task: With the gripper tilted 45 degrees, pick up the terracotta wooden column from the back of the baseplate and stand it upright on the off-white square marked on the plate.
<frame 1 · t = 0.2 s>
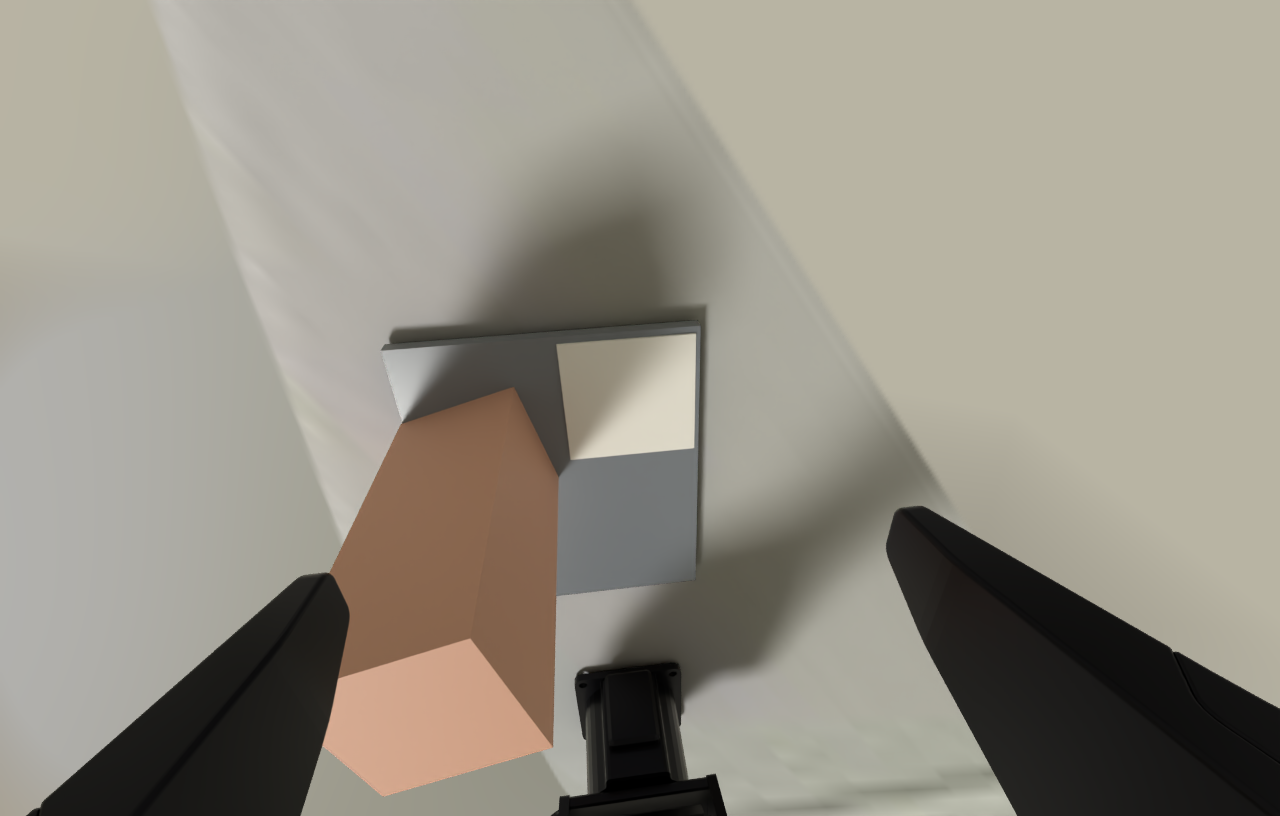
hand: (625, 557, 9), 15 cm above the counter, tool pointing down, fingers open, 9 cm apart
baseplate: (563, 476, 26), on the counter
column: (483, 451, 24), point 1 cm above the counter, touching baseplate
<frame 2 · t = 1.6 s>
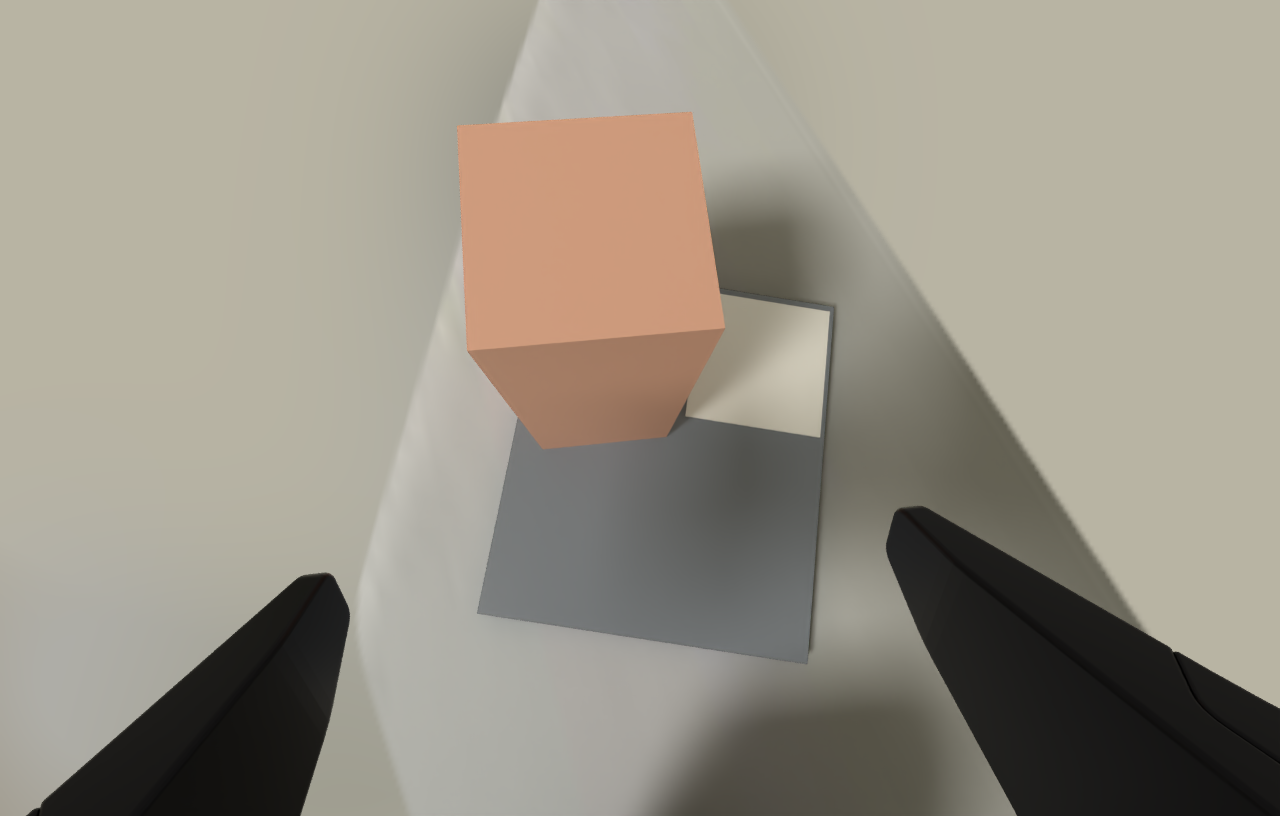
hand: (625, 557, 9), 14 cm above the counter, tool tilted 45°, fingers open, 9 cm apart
baseplate: (668, 450, 23), on the counter
column: (599, 383, 23), point 1 cm above the counter, touching baseplate
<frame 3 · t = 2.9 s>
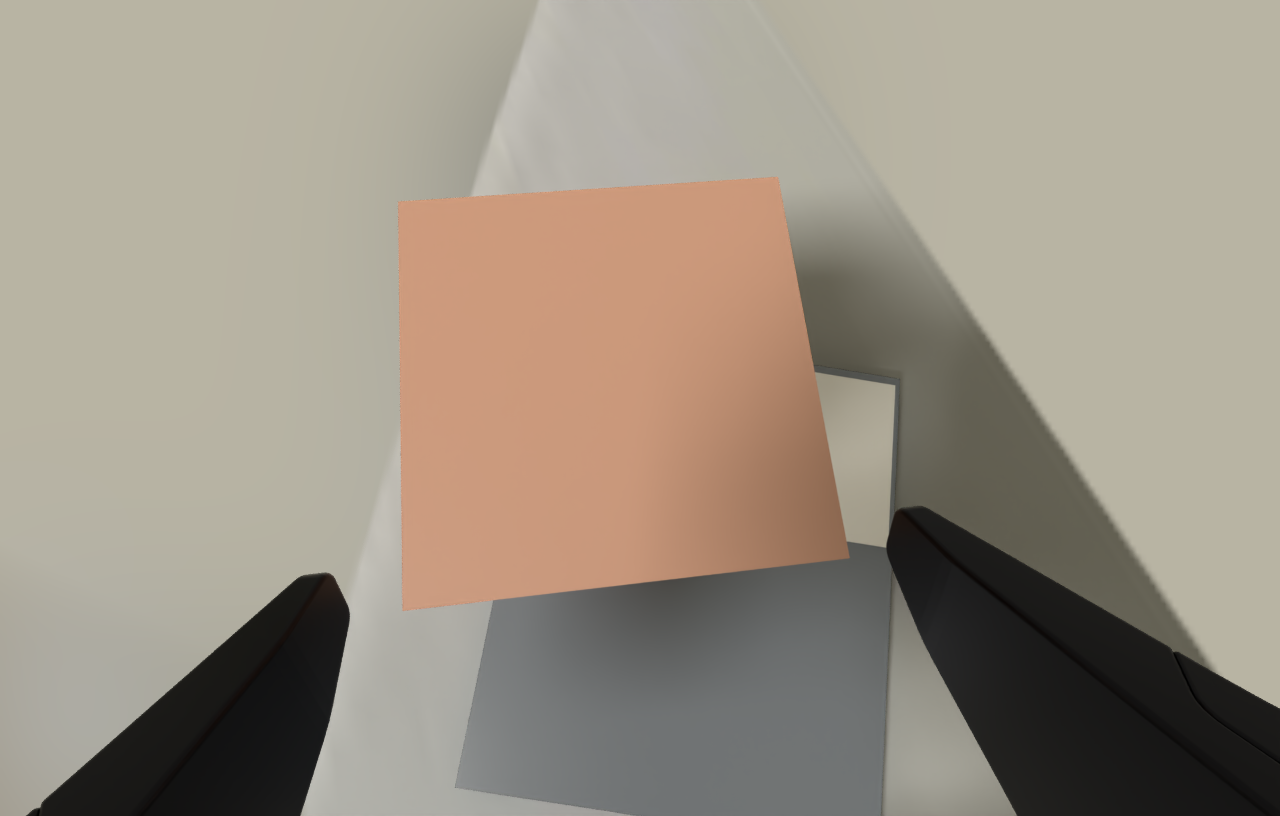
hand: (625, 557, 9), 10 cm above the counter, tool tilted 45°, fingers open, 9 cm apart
baseplate: (697, 561, 19), on the counter
column: (611, 478, 18), point 1 cm above the counter, touching baseplate
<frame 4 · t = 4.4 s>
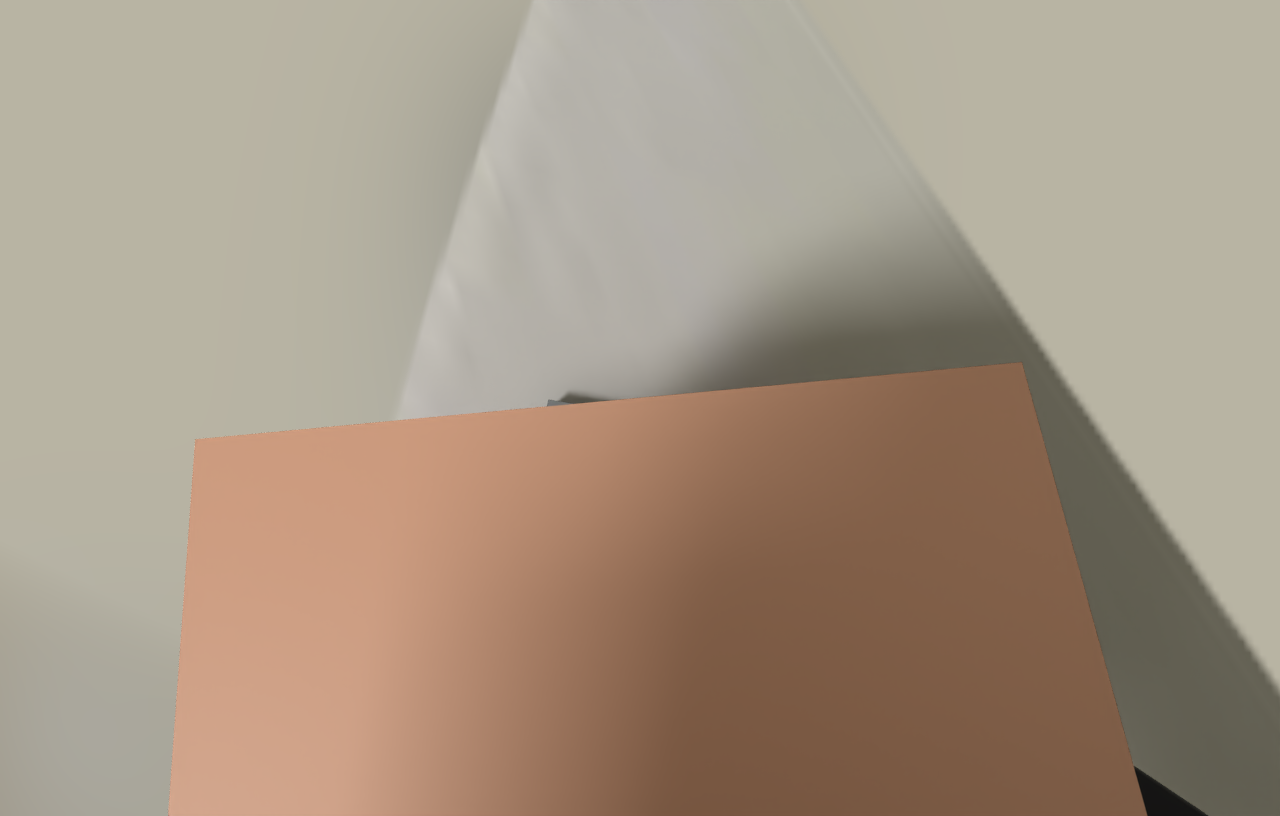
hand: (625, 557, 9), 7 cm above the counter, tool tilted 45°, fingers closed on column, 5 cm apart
column: (625, 606, 14), point 1 cm above the counter, touching baseplate, gripper
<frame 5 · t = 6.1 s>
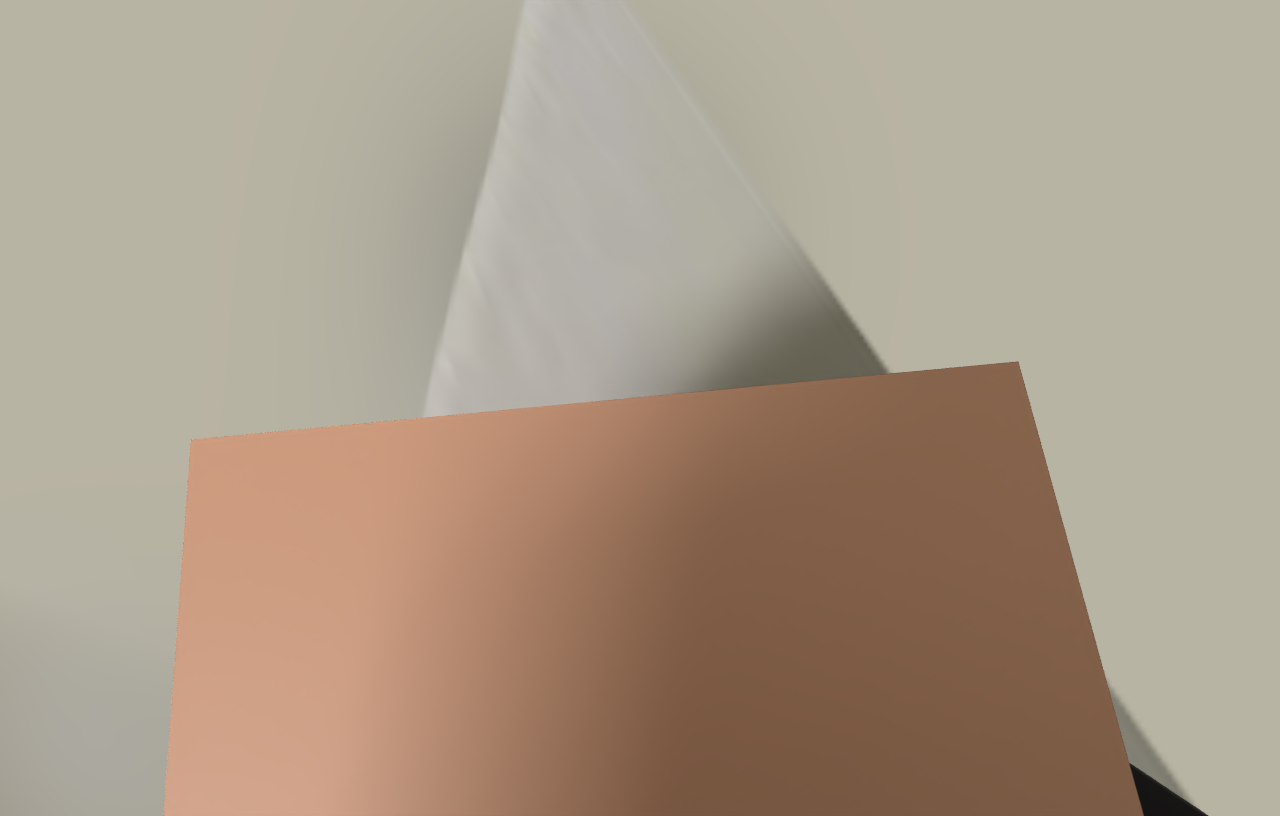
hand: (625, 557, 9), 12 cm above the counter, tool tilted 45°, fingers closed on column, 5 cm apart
column: (624, 606, 14), point 6 cm above the counter, touching gripper
when the fingers open (7 cm above the counter, at t = 8.1 s): column stays where it is, resting on baseplate.
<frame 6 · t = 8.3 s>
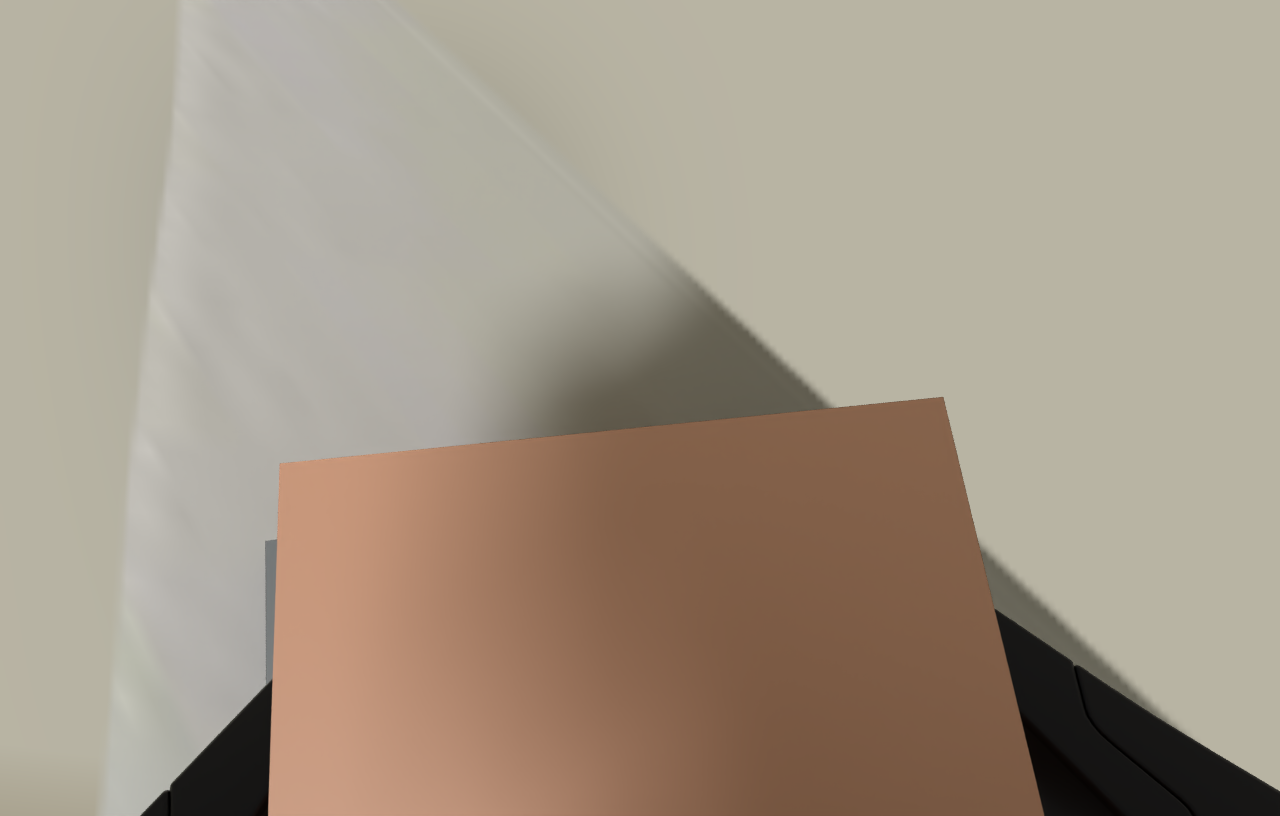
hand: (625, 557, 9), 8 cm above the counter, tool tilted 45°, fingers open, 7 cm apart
baseplate: (526, 783, 15), on the counter
column: (624, 602, 15), point 1 cm above the counter, touching baseplate
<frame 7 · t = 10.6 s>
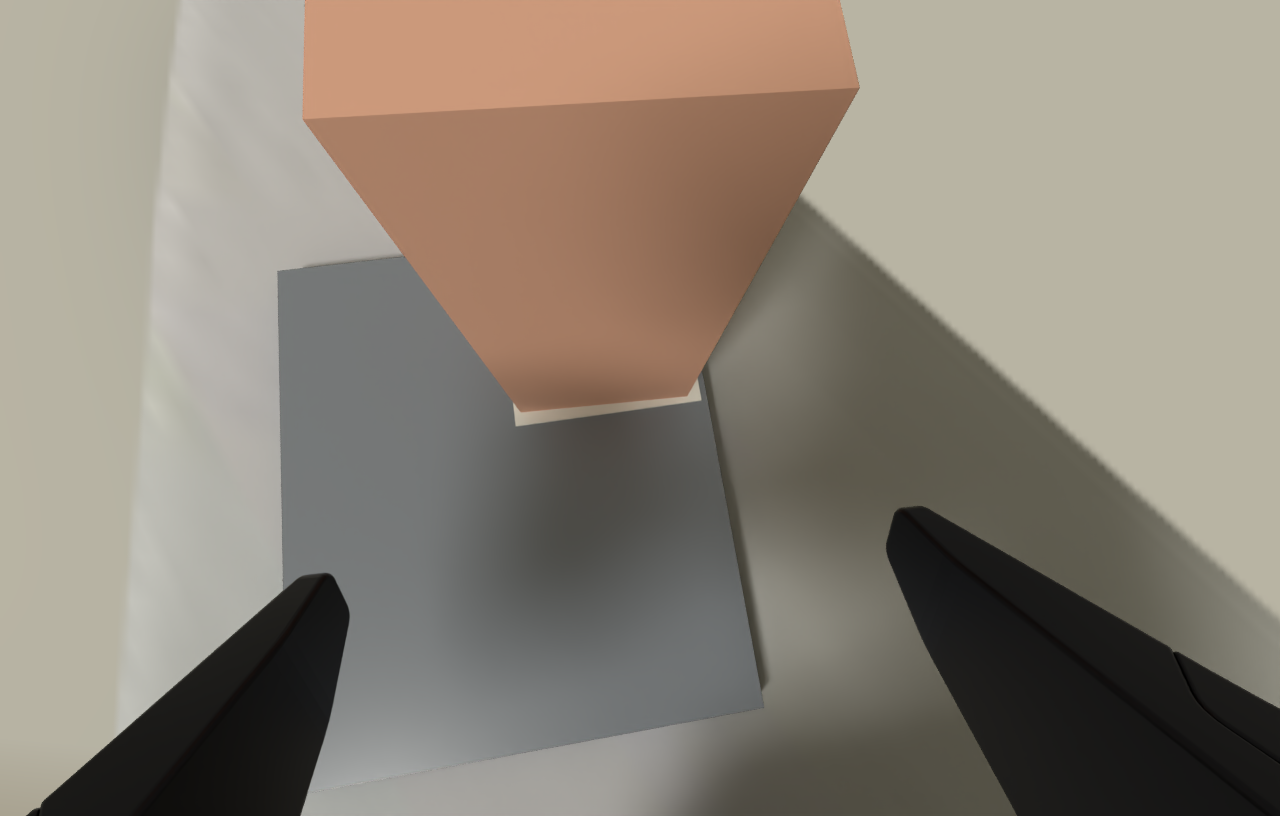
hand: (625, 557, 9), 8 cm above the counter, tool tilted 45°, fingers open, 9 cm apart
baseplate: (509, 477, 17), on the counter
column: (597, 325, 17), point 1 cm above the counter, touching baseplate
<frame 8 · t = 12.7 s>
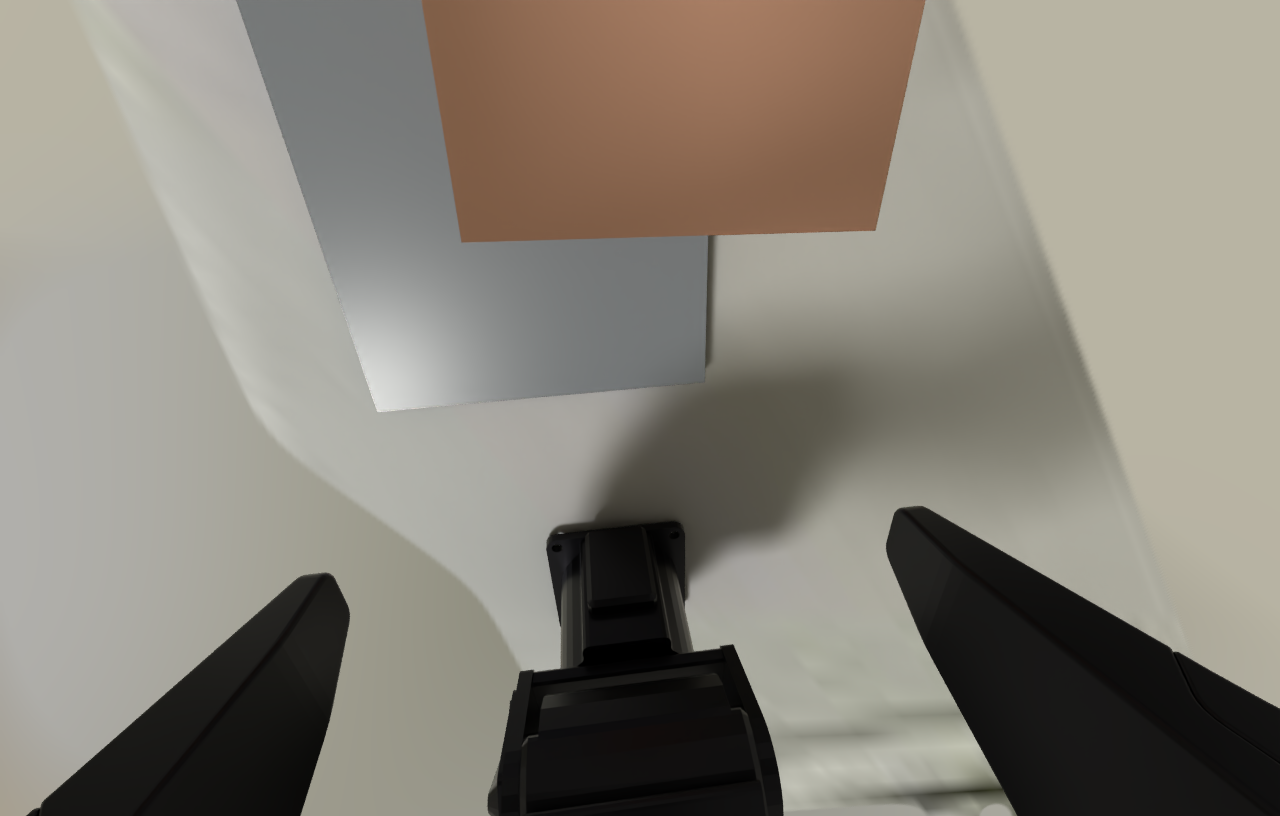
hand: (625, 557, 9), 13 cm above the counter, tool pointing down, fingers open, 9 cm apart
baseplate: (515, 193, 18), on the counter
column: (607, 33, 16), point 1 cm above the counter, touching baseplate
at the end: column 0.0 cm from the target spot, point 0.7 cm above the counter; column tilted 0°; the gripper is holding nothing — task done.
